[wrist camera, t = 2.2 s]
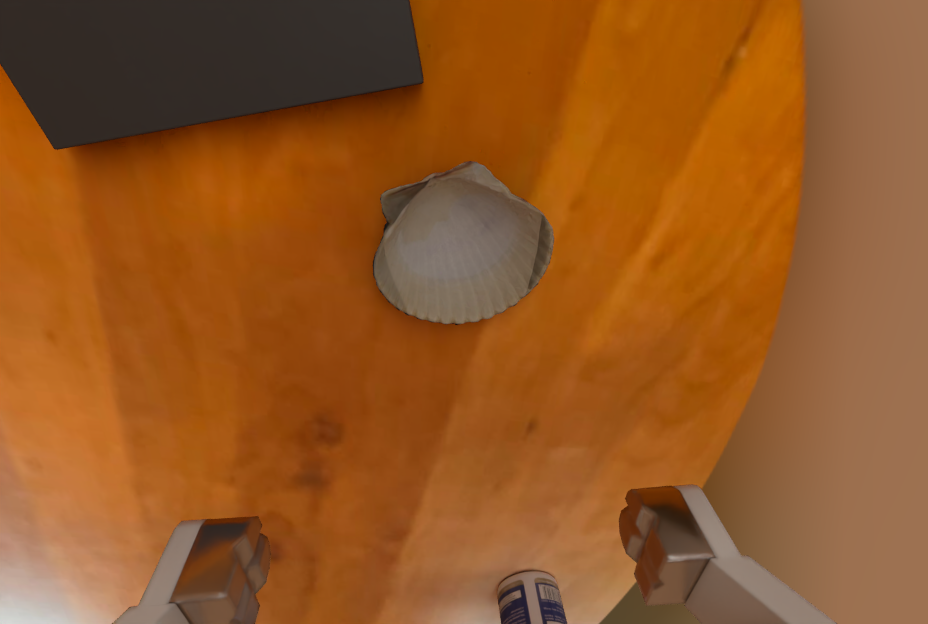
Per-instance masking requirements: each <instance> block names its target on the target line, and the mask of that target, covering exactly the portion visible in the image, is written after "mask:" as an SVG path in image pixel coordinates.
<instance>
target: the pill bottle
mask: <svg viewBox="0 0 928 624" xmlns="http://www.w3.org/2000/svg"><path fill="white" fill-rule="evenodd" d="M497 595H498V604H499V611H500V618H501V624H567V621H566V617H565V613H564V609H563V605H562V601H561V596H560V592H559V588H558V585H557V582H556V580H555V579H554V578H553V577H552V576H551V575H549V574H547V573H544V572H540V571H529V572H523V573H519V574H516V575H513V576H510V577H509V578H507V579H505V580H504V581H503V582H502V583H501V584H500V585H499V587H498V592H497Z"/></svg>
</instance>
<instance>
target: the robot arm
mask: <svg viewBox="0 0 928 624" xmlns="http://www.w3.org/2000/svg"><path fill="white" fill-rule="evenodd" d="M625 500H626V502H627V504H628V506H627V507H625V508H624V509H623V510H621V513H620V517H619V532H620V536H621V540H622V543H623V546H624V549H625V552H626V554H627V555H628V556H630V557H631V558H632V559H633V560H634V561H635V562H636V563H637V564H636V568H635V572H634V575H635V578H636V580H637V583H638V585H639V588H640V591H641V593H642V596H643V598H644V601H645V603H646V605H665V604H680V603H685V607H686V608H687V609H688V610H689V611H690V612H691V613H692V614H693V615H694V616H695V617H696V618H697V620H698V621H699V622H700V623H701V624H837V623H836V622H834V621H833V620H832V619H830V618H829V617H828V616H827V615H825V614H824V613H822V612H821V611H820V610H819V609H817V608H816V607H815V606H813V605H812V604H811V603H810V602H808V601H807V600H806V599H804V598H803V597H802V596H800V595H799V594H798V593H796V592H795V591H794V590H793V589H791V588H790V587H789V586H787V585H786V584H784V583H783V582H782V581H781V580H779V579H778V578H777V577H776V576H774V575H773V574H772V573H770V572H769V571H768V570H766V569H765V568H764V567H762V566H761V565H760V564H758V563H757V562H756V561H754V560H753V559H752V558H751V557H749V556H741V554H740V553H739V551H738V549H737V548H736V546H735V544H734V543H733V541H732V539H731V538H730V536H729V534H728V533H727V531H726V529H725V528H724V526H723V524H722V523H721V521H720V519H719V518H718V516H717V514H716V513H715V511H714V509H713V508H712V506H711V504H710V503H709V501H708V499H707V498H706V496H705V494H704V493H703V491H702V489H700V488H699V487H698V486H697V485H680V486H662V487H651V488H640V489H631V490H629V491H628V492H627V495H626V498H625ZM261 528H262V523H261V521H260V519H259V517H258V516H253V517H237V518H222V519H201V520H189V521H181V522H180V523H179V525H178V526H177V527H176V528H175V529H174V531H173V533H172V535H171V537H170V539H169V541H168V543H167V545H166V548H165V550H164V552H163V554H162V556H161V558H160V560H159V562H158V565H157V567H156V569H155V571H154V573H153V575H152V577H151V579H150V581H149V584H148V586H147V588H146V590H145V592H144V594H143V596H142V598H141V600H140V603H139V605H138V606H133V607H129V608H128V609H127V610H126V611H125V612H124V613H123V614H122V615H121V616H120V617H119V618H118V619H117V620H115V621H114V622H113V623H112V624H255V622H256V618H257V614H258V611H259V607H260V604H259V602H258V600H257V597H256V595H255V594H256V593H257V592H258V591H259V590H260V589H261V588H262V587H263V585H264V584H265V583H266V581H267V577H268V573H269V569H270V558H271V549H270V543H269V540H268V537H267V536H265V535H263V534H261V533H260V531H261Z"/></svg>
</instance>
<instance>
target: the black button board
mask: <svg viewBox="0 0 928 624" xmlns="http://www.w3.org/2000/svg"><path fill="white" fill-rule="evenodd" d="M0 64H1V66H2V67H3V69H4V70H5V72H6V74H7V75H8V77H9V78H10V80H11V81H12V83H13V85H14V86H15V88H16V89H17V91H18V92H19V94H20V96H21V97H22V99H23V100H24V102H25V103H26V105H27V107H28V108H29V110H30V111H31V113H32V115H33V116H34V118H35V119H36V121H37V122H38V124H39V126H40V127H41V129H42V130H43V132H44V133H45V135H46V137H47V138H48V140H49V141H50V143H51V144H52V146H53V148H54V149H57V150H58V149H63V148H69V147H74V146H80V145H85V144H91V143H96V142H102V141H107V140H113V139H119V138H124V137H130V136H135V135H141V134H146V133H152V132H157V131H163V130H168V129H174V128H179V127H185V126H190V125H196V124H201V123H207V122H212V121H218V120H224V119H229V118H235V117H240V116H246V115H251V114H257V113H262V112H268V111H273V110H279V109H284V108H290V107H295V106H301V105H306V104H312V103H317V102H323V101H328V100H334V99H340V98H345V97H351V96H356V95H362V94H367V93H373V92H378V91H384V90H389V89H395V88H400V87H406V86H411V85H417V84H422V83H423V73H422V68H421V62H420V57H419V51H418V46H417V40H416V34H415V29H414V23H413V18H412V12H411V7H410V1H409V0H0Z"/></svg>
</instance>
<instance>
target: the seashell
mask: <svg viewBox="0 0 928 624" xmlns="http://www.w3.org/2000/svg"><path fill="white" fill-rule="evenodd" d="M380 200H381V204H382V211H383V214H384V216H385V218H386V220H387V223H386V224H385V228H384V235H383V237H382V239H381V242H380V245H379V247H378V250H377V252H376V254H375V256H374V261H373V275H374V278H375V280H376V285H377V286H378V288H379V290H380V292H381V293H382V295H384V296H385V298H386V299H387V300H388V302H389V303H391V304H392V305H394V306H395V307H396V308H397V309H398V310H401V311H403V312H404V313H405V314H406V315H412V316H415V317H416V318H417V319H420V320H428V321H430V322H438V323H443V324H451V323H452V324H454V323H455V324H456V325H458V324H462V323H466V322H478V321H480V320H481V319H489V318H492V317H493V316H494V315H495V314H499V313H503V312H504V311H505V310H506V309H507V308H509V307H512V306H515V305H516V304H517V302H518V301H519V300H520V299H522V298H523V297H525V296H526V295H527V294H528V293H529V292H530V291H531V290H532V289H533V288H534V287H535V286H536V285H537V284H538V282H539V280H540V279H541V278H542V276H543V275H544V273H545V271H546V269H547V266H548V265H549V263H550V259H551V255H552V251H553V243H554V236H553V229H552V226H551V225H550V224H549V222H548V221H547V219H546V218H545V216H544V214H543V213H542V212H541V211H540V210H538V209H537V208H536V207H534V206H532V205H531V204H529V203H528V202H527V201H525V200H524V199H522V198H520V197H517V196H515V195H513V194H511V192H510V191H509V189H508V188H507V187H506V186H505V185H504V184H503V183H502V182H500V181H499V180H497V179H496V178H495V177H494V176H493V175H492V173H491V172H490V171H489V170H488V169H487V168H486V167H485V166H483V165H480V164H478V163H477V162H472V161H469V162H465V163H462V164H460V165H458V166H456V167H455V168H453V169H451V170H448V171H446V172H444V173H433V174H431V175H429V176H427V177H425V178H424V179H423V180H422V181H421V182H417V183H414V184H408V185H404V186H400V187H397V188H394V189H390V190H387V191H385V192H384V193H383V194H382V195H381V198H380Z"/></svg>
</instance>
